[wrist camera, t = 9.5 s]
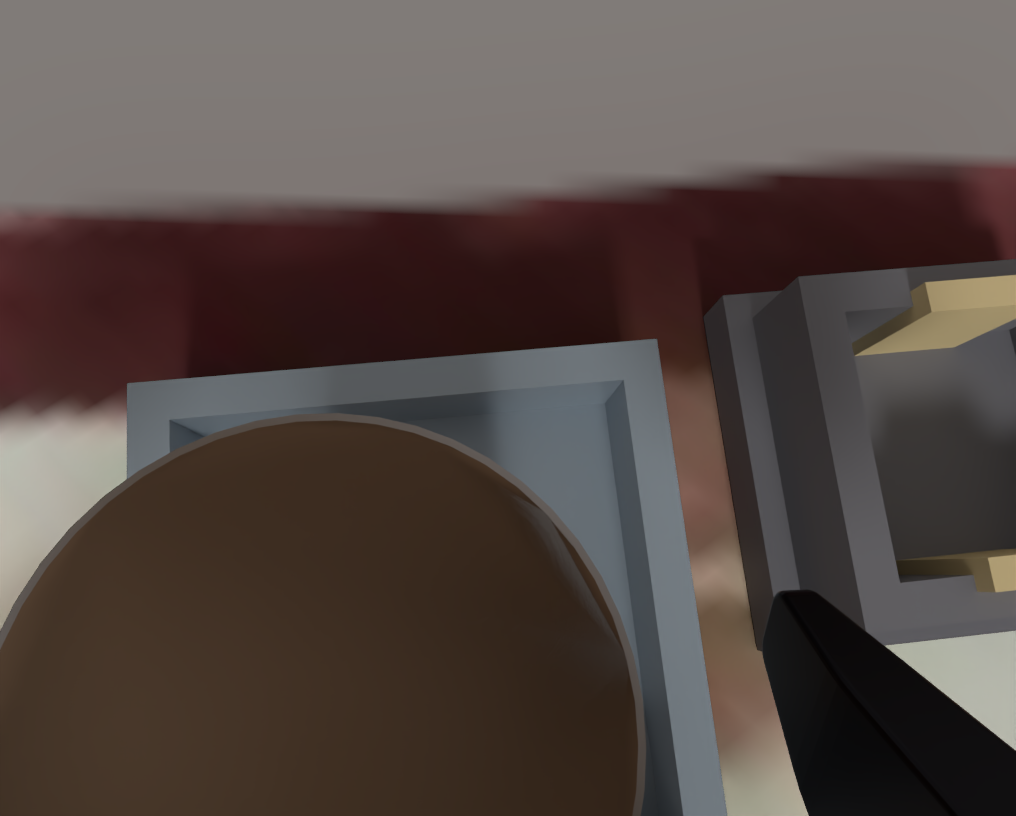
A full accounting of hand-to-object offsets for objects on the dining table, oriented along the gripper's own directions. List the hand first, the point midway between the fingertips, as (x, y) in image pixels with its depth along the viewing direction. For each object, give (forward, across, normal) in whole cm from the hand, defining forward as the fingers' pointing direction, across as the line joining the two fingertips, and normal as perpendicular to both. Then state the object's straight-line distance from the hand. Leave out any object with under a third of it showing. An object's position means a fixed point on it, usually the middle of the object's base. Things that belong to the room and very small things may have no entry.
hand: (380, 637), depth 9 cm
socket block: (+8, -11, +4) cm, 15 cm away
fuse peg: (+5, 0, +6) cm, 8 cm away
